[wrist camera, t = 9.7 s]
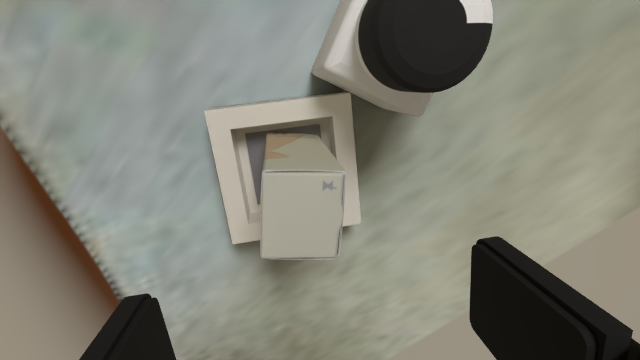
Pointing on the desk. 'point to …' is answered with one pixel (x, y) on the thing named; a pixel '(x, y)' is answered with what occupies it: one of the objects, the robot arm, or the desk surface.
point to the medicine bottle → (403, 49)
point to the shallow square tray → (249, 146)
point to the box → (300, 199)
